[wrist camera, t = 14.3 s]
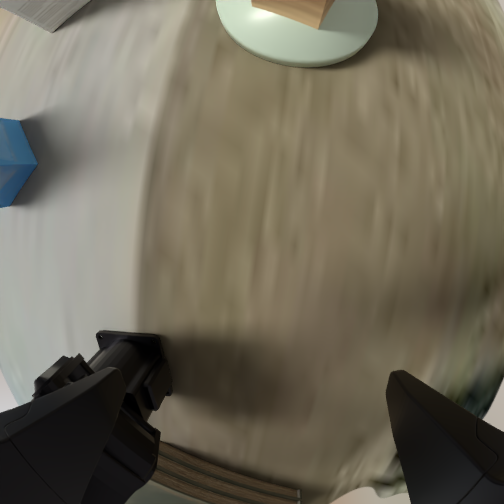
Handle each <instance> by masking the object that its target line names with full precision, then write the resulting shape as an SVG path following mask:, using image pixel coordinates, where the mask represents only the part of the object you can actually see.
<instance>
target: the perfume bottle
mask: <svg viewBox="0 0 504 504" xmlns="http://www.w3.org/2000/svg"><path fill="white" fill-rule="evenodd" d="M37 165H38V163H37V161H36V159H35V156H34V154H33V152H32V150H31V148H30V145H29V143H28V141H27V138H26V136H25V134H24V131H23V129H22V126H21V124H20V121H18V120H11V119H3V118H0V208H2V207H7V206H10V205H11V203H12V202H13V200H14V198H15V197H16V195H17V194H18V192H19V191H20V189H21V188H22V186H23V185H24V183H25V182H26V180H27V179H28V177H29V176H30V175H31V173H32V172H33V170H34V169H35V168H36V166H37Z"/></svg>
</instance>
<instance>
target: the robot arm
mask: <svg viewBox="0 0 504 504" xmlns="http://www.w3.org/2000/svg"><path fill="white" fill-rule="evenodd" d="M100 335H101V336H102V337H103V338H102V337H101V336H100ZM96 338H97V341H98V345H99V348H100V350H99V351H98V352H97V353H96V354H95V355H94V356H93V357H92V358H91V359H90V360H89V361H88V362H87V363H86V362H85V361H84V360H83V359H84V358H83V357H82V355H81V354H80V353H79V354H78V355H77V356H76V357H75V358H73V357H71V358H68V357H65V356H62V357H61V358H60V359H59V360H58V361H57V362H56V363H54V364H53V365H52V366H51V367H50V368H49V369H48V370H46V371H45V372H44V373H43V374H42V375H40V376H39V377H38V378H37V379H36V380H35V381H34V387H35V393H34V394H33V395H32V396H33V397H34V398H33V399H32V400H31V402H28V403H26V404H24V405H21V406H18V407H16V408H13V409H10V410H7V411H4V412H1V413H0V504H125V503H126V502H127V500H128V499H129V498H130V497H131V496H132V495H133V494H134V493H135V492H136V491H137V490H139V489H140V488H142V487H143V486H144V485H145V484H146V483H147V482H148V481H149V480H150V479H151V477H152V476H153V474H154V472H155V470H156V468H157V463H158V453H159V444H160V435H161V432H160V431H159V430H158V429H156V428H153V427H152V426H151V425H150V424H149V423H148V422H147V421H148V419H149V417H150V415H151V413H152V411H157V410H158V409H159V407H160V405H161V403H162V401H163V399H164V397H165V396H171V394H172V392H173V389H172V385H171V383H172V379H171V375H170V371H169V367H168V363H167V360H166V358H164V354H163V349H162V345H161V340H160V338H159V337H158V336H157V335H151V334H136V333H122V332H110V331H99V332H98V333H97V334H96ZM152 339H153V340H155V341H156V342H154V341H153V340H152ZM168 391H169V392H168ZM386 400H387V405H388V411H389V416H390V422H391V428H392V433H393V437H394V441H395V445H396V448H397V452H398V455H399V459H400V462H401V466H402V470H403V473H404V477H405V481H406V485H407V489H408V493H409V497H410V501H411V504H504V432H503V431H501V430H499V429H497V428H495V427H494V426H492V425H490V424H488V423H487V422H485V421H483V420H482V419H480V418H477V416H475V415H474V414H472V413H470V412H469V411H467V410H466V409H464V408H463V407H461V406H459V405H458V404H456V403H455V402H453V401H451V400H450V399H448V398H447V397H445V396H444V395H442V394H440V393H439V392H437V391H436V390H434V389H433V388H431V387H429V386H428V385H426V384H425V383H423V382H422V381H420V380H418V379H417V378H415V377H414V376H412V375H411V374H409V373H408V372H406V371H404V370H397V371H392V372H391V374H390V376H389V381H388V385H387V389H386Z"/></svg>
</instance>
